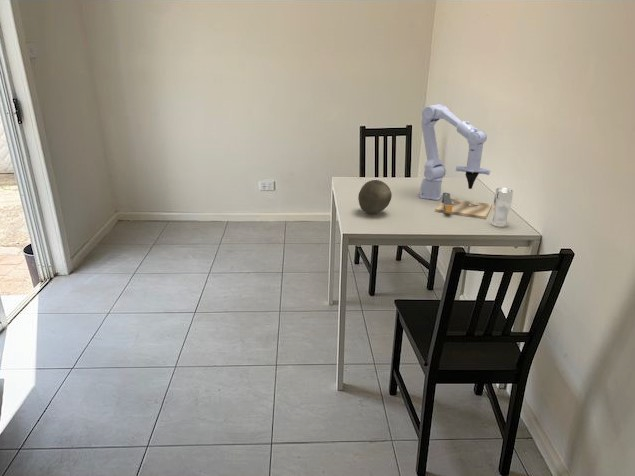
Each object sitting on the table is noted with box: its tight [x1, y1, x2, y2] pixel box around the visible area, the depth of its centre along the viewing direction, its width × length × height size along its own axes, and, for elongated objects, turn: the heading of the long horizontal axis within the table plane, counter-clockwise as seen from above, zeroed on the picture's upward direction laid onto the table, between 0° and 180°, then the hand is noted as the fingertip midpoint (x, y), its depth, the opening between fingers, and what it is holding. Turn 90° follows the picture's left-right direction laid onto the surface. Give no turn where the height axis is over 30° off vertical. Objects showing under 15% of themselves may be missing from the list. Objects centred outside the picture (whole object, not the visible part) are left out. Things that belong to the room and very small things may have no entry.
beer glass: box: [491, 187, 514, 228], centre depth 195 cm, size 7×7×15 cm
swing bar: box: [441, 192, 453, 212], centre depth 213 cm, size 19×3×3 cm, turn 170°
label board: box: [434, 198, 493, 220], centre depth 215 cm, size 22×18×2 cm
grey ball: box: [357, 179, 393, 215], centre depth 208 cm, size 14×14×15 cm
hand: (470, 188), depth 213 cm, fingers closed
